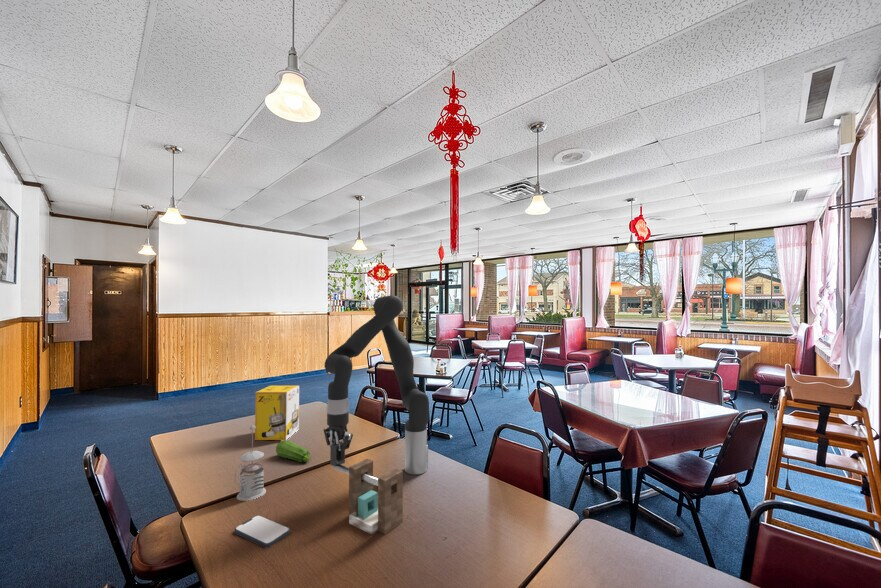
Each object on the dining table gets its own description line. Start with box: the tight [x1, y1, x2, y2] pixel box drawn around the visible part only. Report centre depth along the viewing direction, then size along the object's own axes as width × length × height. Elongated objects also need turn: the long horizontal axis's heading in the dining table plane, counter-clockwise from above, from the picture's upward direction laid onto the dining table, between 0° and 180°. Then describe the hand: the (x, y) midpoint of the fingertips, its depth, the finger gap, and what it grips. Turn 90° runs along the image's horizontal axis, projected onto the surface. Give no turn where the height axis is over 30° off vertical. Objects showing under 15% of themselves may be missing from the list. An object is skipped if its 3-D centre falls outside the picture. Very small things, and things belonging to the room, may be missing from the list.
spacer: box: [358, 489, 378, 519], centre depth 120 cm, size 3×6×6 cm, turn 144°
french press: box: [234, 424, 267, 502], centre depth 134 cm, size 10×12×25 cm
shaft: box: [329, 443, 379, 487], centre depth 123 cm, size 26×4×9 cm, turn 54°
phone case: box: [233, 514, 291, 548], centre depth 111 cm, size 9×2×16 cm
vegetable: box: [275, 439, 311, 463], centre depth 165 cm, size 7×7×20 cm
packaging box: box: [254, 385, 300, 441], centre depth 195 cm, size 16×16×25 cm
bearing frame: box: [348, 458, 404, 536], centre depth 118 cm, size 16×13×16 cm
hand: (337, 459), depth 129 cm, fingers closed on shaft, 3 cm apart
